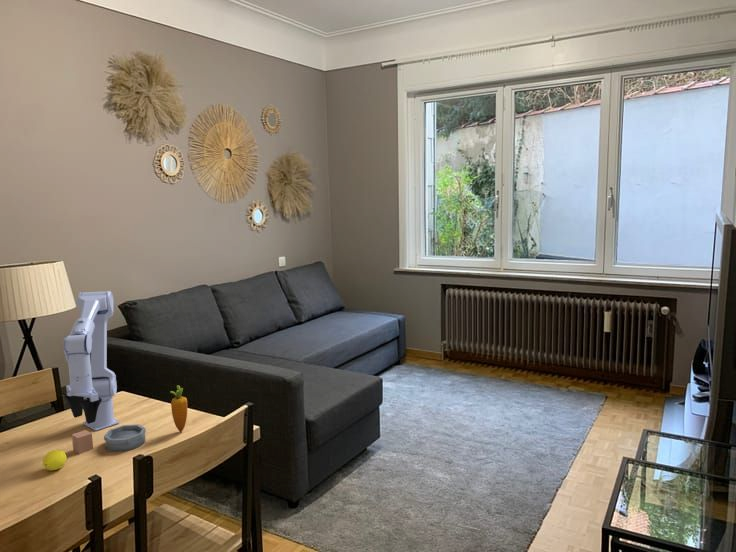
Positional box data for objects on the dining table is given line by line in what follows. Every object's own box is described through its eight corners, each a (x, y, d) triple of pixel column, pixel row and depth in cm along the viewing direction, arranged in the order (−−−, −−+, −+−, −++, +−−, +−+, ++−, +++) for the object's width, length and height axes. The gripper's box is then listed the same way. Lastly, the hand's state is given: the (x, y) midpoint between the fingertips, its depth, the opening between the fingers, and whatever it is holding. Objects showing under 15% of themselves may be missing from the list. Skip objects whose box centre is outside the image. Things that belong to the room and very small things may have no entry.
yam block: (73, 450, 162) (71, 434, 161) (87, 445, 165) (85, 429, 164) (79, 454, 159) (77, 438, 158) (93, 449, 162) (91, 433, 161)
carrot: (184, 435, 171) (181, 389, 168) (169, 434, 172) (166, 389, 169) (192, 429, 175) (189, 384, 173) (178, 428, 176) (175, 383, 174)
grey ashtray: (99, 444, 165) (98, 433, 165) (134, 432, 173) (133, 421, 173) (116, 455, 158) (115, 443, 158) (152, 441, 166) (151, 430, 166)
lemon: (54, 465, 154) (53, 446, 154) (72, 465, 153) (71, 446, 153) (36, 474, 147) (36, 454, 147) (55, 475, 146) (55, 455, 146)
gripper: (54, 374, 160) (58, 418, 162) (79, 383, 151) (83, 430, 153) (78, 367, 165) (82, 410, 167) (103, 376, 157) (107, 421, 159)
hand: (84, 419), depth 161 cm, fingers open, 7 cm apart
